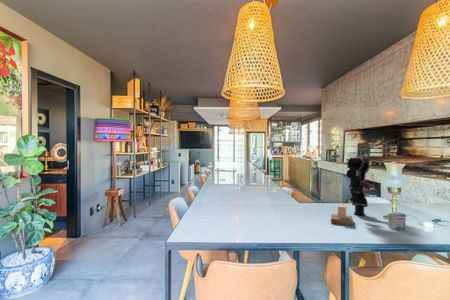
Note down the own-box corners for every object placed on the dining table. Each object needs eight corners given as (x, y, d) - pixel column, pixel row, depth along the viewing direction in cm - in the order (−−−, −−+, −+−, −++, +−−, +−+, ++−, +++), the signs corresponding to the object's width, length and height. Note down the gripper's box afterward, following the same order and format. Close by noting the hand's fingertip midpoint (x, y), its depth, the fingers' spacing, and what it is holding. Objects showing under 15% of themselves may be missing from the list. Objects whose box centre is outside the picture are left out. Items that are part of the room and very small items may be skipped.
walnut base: (331, 218, 160) (331, 213, 160) (351, 220, 155) (351, 216, 155) (331, 223, 149) (331, 218, 149) (353, 226, 144) (353, 221, 144)
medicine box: (395, 230, 138) (395, 215, 138) (388, 227, 142) (388, 212, 142) (405, 229, 140) (406, 214, 140) (398, 226, 144) (398, 212, 144)
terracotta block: (337, 215, 155) (337, 205, 155) (345, 216, 153) (345, 205, 153) (337, 217, 151) (337, 206, 151) (345, 218, 149) (346, 207, 149)
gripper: (371, 179, 146) (371, 205, 147) (367, 176, 163) (367, 199, 164) (350, 178, 151) (350, 203, 151) (349, 175, 168) (348, 197, 168)
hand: (354, 200), depth 158 cm, fingers open, 9 cm apart
